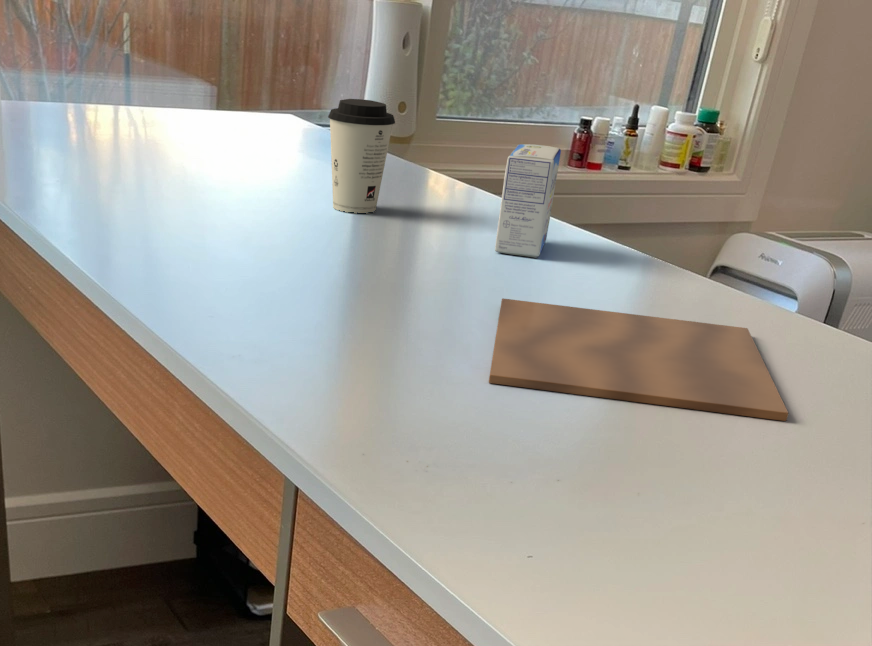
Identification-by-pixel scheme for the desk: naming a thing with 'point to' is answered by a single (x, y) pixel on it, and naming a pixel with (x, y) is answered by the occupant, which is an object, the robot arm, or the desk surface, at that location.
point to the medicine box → (527, 199)
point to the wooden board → (633, 359)
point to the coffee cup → (358, 153)
